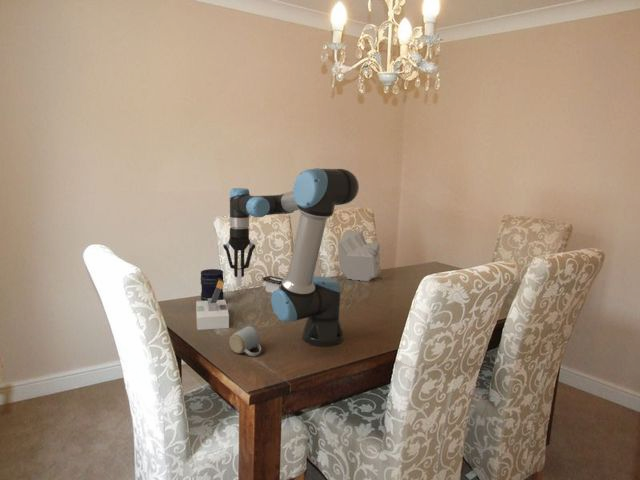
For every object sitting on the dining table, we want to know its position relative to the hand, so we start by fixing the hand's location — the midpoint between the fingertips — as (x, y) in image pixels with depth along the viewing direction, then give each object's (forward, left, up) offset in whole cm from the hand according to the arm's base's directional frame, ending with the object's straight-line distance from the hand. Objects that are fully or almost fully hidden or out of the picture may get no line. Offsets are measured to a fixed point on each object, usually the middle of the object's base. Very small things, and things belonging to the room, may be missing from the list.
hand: (239, 284), depth 189 cm
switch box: (0, +11, -14) cm, 18 cm away
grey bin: (+33, -20, -15) cm, 42 cm away
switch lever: (0, +11, -8) cm, 14 cm away
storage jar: (+20, +10, -15) cm, 26 cm away
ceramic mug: (-33, 0, -15) cm, 36 cm away
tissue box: (+50, -71, -15) cm, 88 cm away
